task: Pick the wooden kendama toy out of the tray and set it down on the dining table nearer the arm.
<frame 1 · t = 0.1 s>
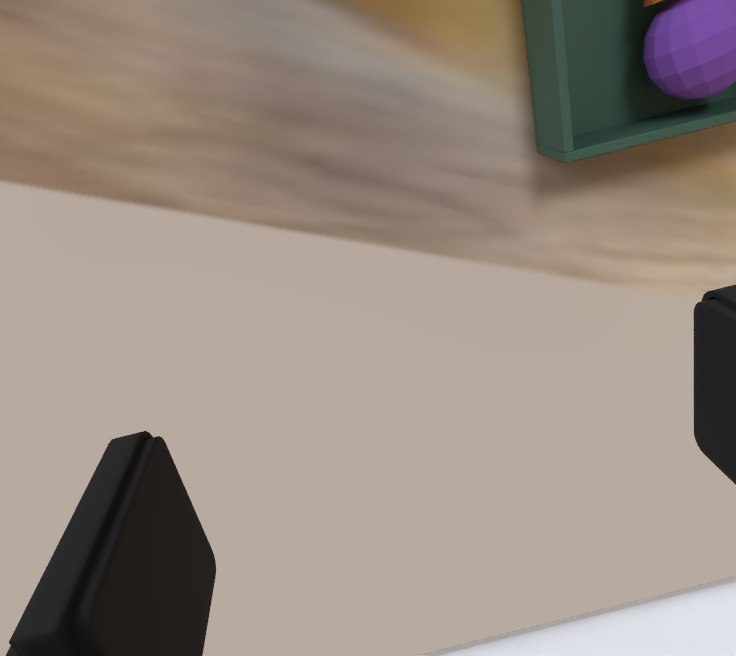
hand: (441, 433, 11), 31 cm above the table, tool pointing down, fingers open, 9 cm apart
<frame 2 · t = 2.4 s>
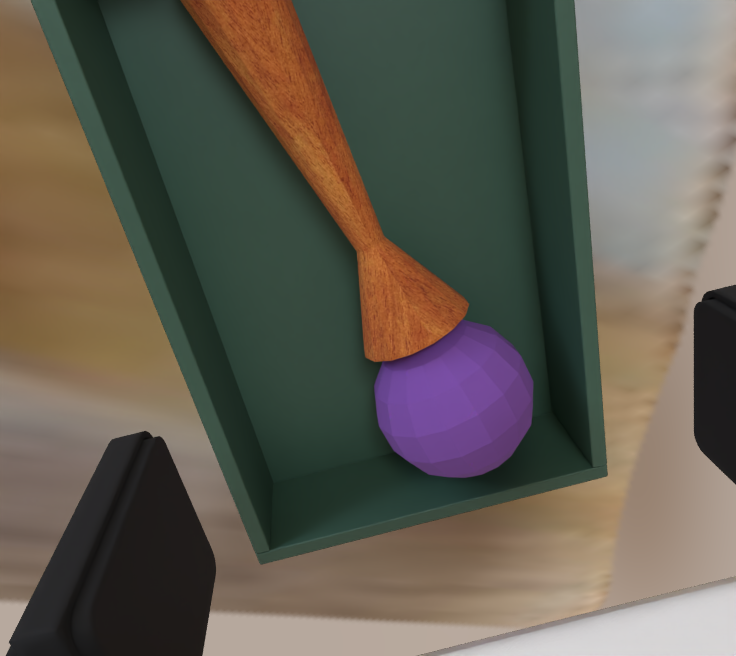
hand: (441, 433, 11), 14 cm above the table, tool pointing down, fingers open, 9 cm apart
tray: (358, 216, 24), on the table
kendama: (359, 217, 23), resting on tray
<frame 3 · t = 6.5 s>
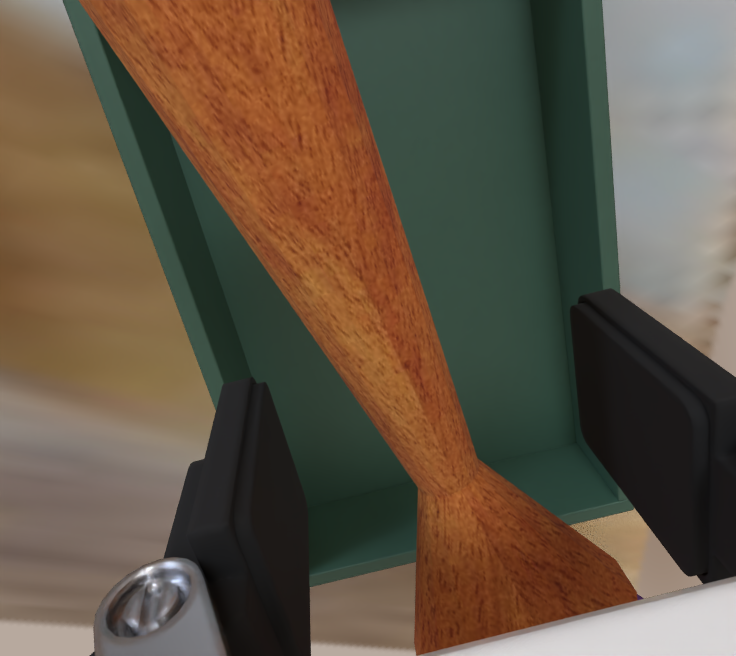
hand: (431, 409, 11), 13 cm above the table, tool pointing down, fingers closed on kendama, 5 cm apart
tray: (386, 248, 24), on the table
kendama: (413, 383, 12), point 12 cm above the table, touching gripper
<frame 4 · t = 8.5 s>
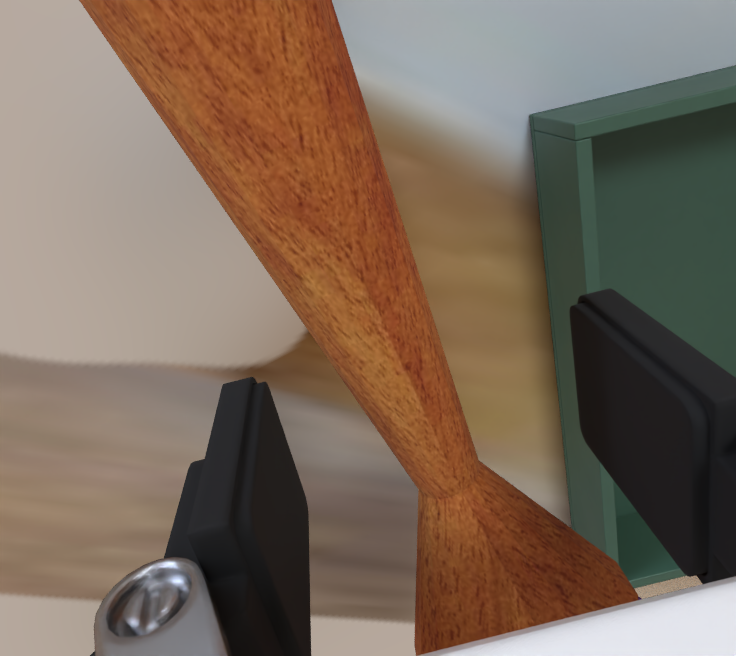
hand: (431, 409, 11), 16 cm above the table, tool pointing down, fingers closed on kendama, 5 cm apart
tray: (694, 320, 30), on the table
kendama: (414, 384, 12), point 15 cm above the table, touching gripper
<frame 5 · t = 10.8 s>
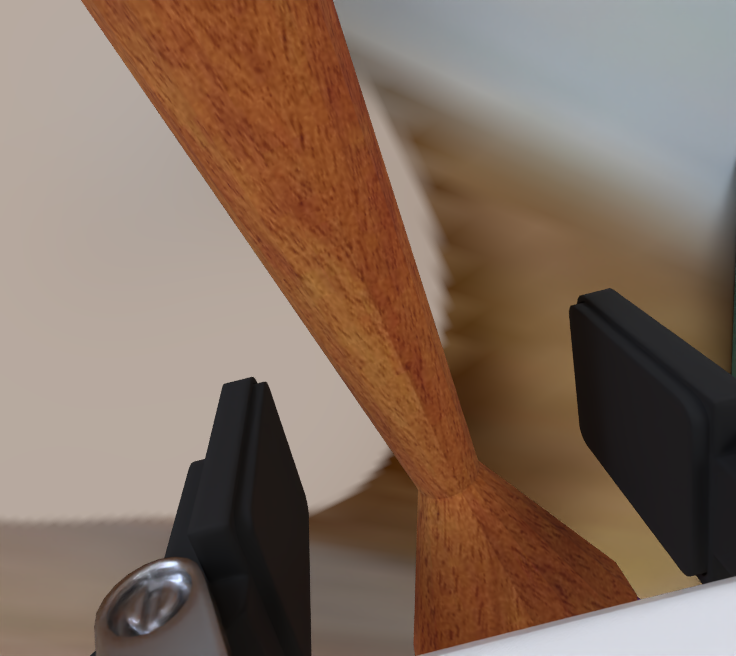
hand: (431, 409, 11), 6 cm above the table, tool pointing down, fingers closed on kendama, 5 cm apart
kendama: (413, 384, 12), point 5 cm above the table, touching gripper
when the fingers open (1 cm above the table, at t = 12.6 s): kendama stays where it is, on the table.
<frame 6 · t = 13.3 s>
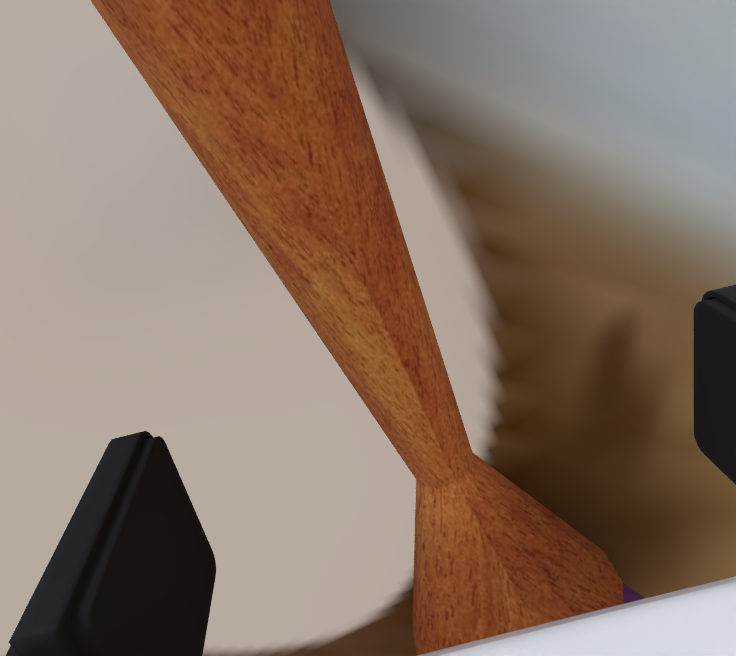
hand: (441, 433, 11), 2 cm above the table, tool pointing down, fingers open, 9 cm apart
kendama: (413, 382, 13), on the table
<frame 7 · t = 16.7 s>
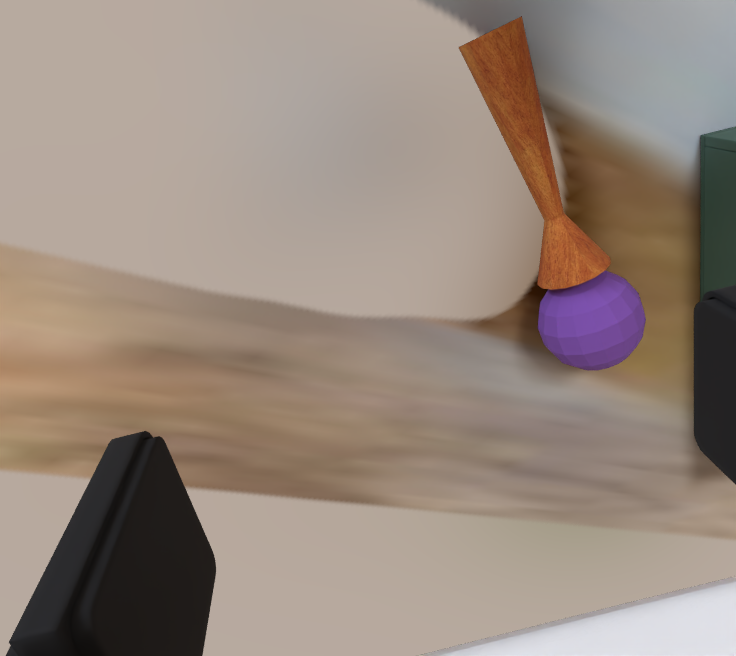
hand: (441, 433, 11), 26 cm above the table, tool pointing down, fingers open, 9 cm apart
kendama: (535, 201, 36), on the table
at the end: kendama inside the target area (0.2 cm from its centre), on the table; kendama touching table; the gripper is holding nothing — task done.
